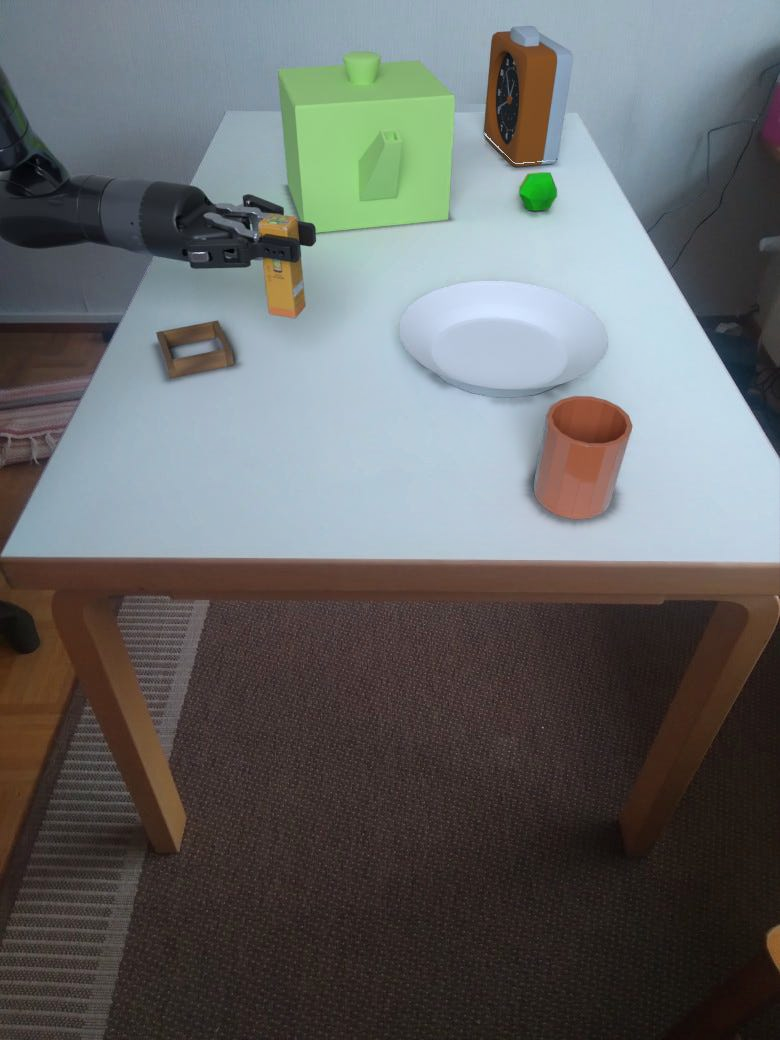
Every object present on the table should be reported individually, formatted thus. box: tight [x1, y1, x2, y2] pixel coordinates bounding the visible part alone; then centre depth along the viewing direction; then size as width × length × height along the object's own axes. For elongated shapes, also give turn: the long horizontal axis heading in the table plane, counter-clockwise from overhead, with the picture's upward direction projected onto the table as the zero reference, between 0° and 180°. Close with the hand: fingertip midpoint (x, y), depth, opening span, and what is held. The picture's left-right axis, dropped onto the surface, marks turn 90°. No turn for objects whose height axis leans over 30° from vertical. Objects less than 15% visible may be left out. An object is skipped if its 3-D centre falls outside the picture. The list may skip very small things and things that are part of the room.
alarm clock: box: [483, 25, 574, 168], centre depth 135 cm, size 18×9×21 cm, turn 14°
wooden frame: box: [155, 319, 235, 379], centre depth 90 cm, size 8×8×2 cm
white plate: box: [398, 280, 609, 399], centre depth 90 cm, size 25×25×4 cm
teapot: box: [277, 50, 456, 234], centre depth 116 cm, size 24×35×22 cm
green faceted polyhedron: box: [518, 171, 558, 211], centre depth 122 cm, size 7×6×9 cm
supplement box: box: [258, 214, 306, 320], centre depth 76 cm, size 3×3×10 cm
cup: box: [533, 395, 633, 520], centre depth 70 cm, size 8×8×9 cm
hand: (306, 242), depth 74 cm, fingers closed on supplement box, 3 cm apart
